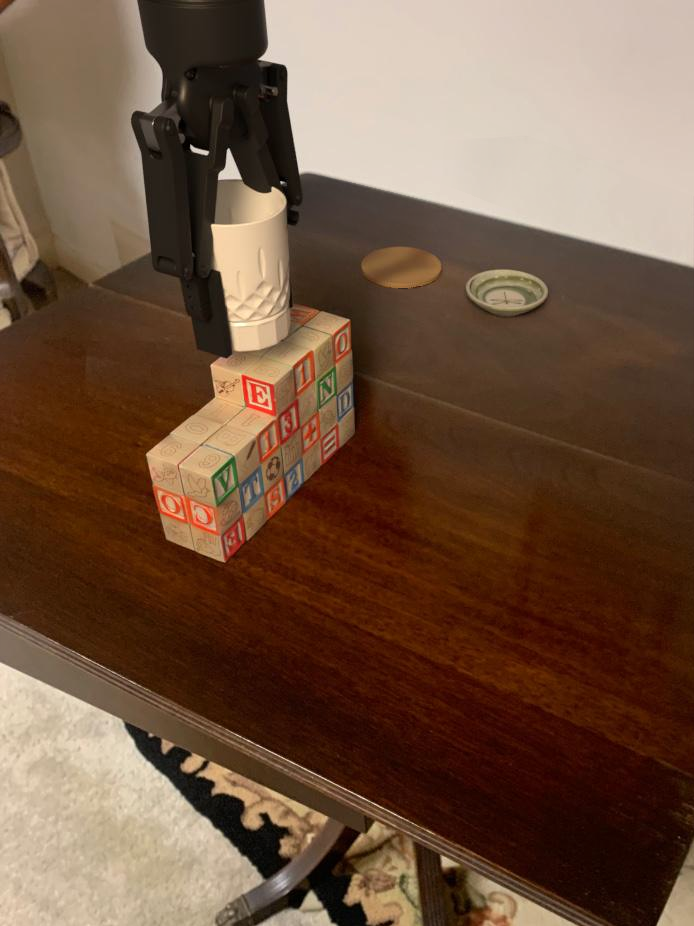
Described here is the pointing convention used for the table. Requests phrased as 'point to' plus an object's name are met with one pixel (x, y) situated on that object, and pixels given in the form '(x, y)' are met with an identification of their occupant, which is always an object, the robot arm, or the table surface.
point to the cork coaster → (401, 267)
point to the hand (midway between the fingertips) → (246, 326)
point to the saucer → (506, 291)
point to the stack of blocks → (256, 435)
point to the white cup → (252, 263)
